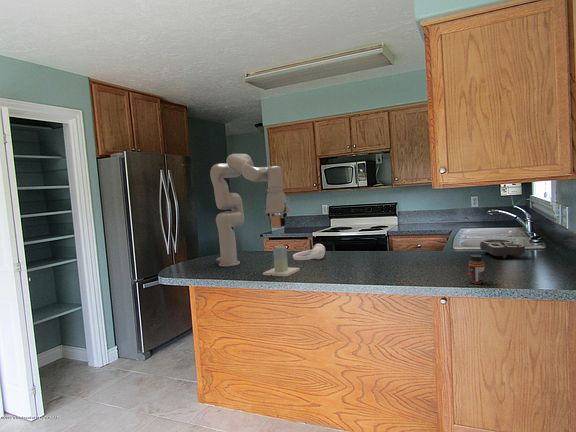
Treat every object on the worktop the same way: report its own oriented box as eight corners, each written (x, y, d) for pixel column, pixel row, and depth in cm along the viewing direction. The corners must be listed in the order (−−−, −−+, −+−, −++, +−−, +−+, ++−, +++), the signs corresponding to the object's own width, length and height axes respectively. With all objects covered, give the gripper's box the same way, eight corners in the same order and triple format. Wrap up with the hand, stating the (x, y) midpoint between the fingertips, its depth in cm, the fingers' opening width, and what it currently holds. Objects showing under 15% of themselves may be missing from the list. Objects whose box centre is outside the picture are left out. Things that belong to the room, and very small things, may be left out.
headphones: (326, 253, 254) (295, 258, 257) (324, 241, 253) (293, 246, 256) (325, 260, 234) (291, 264, 237) (322, 246, 234) (289, 251, 237)
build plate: (262, 275, 207) (261, 261, 207) (276, 269, 219) (275, 255, 219) (286, 276, 200) (285, 262, 200) (299, 270, 212) (298, 256, 212)
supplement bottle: (466, 281, 168) (465, 254, 167) (480, 280, 168) (479, 253, 168) (473, 285, 162) (472, 257, 161) (488, 284, 163) (487, 256, 162)
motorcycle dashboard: (475, 252, 228) (475, 239, 228) (506, 250, 226) (505, 238, 226) (494, 261, 202) (493, 247, 202) (528, 259, 200) (528, 245, 200)
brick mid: (273, 259, 208) (272, 248, 208) (278, 257, 213) (277, 246, 212) (282, 260, 206) (281, 248, 205) (287, 258, 210) (286, 246, 210)
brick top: (271, 227, 207) (270, 216, 206) (276, 226, 211) (275, 215, 211) (280, 227, 204) (279, 215, 204) (284, 226, 209) (284, 214, 208)
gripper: (257, 191, 207) (260, 227, 209) (286, 189, 199) (289, 226, 200) (265, 191, 214) (268, 225, 215) (293, 189, 205) (296, 224, 207)
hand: (278, 225), depth 208 cm, fingers closed on brick top, 5 cm apart
